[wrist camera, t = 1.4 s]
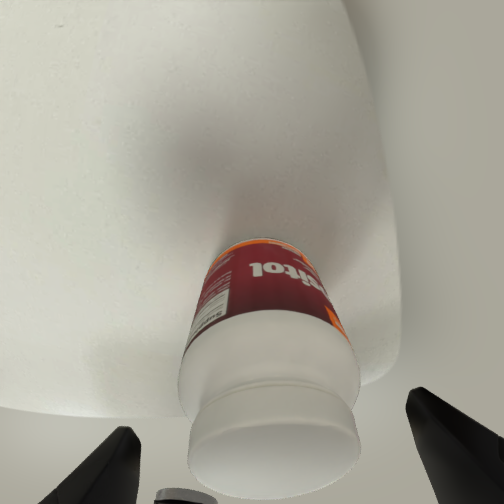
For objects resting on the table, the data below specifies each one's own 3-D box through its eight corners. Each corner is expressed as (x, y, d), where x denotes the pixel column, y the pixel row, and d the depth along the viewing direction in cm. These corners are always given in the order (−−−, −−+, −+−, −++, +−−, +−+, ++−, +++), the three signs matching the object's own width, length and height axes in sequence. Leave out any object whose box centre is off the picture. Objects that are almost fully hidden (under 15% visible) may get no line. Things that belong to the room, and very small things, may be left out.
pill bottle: (339, 276, 17) (429, 435, 6) (270, 350, 18) (288, 517, 8) (248, 209, 15) (252, 354, 5) (183, 298, 17) (127, 471, 7)
